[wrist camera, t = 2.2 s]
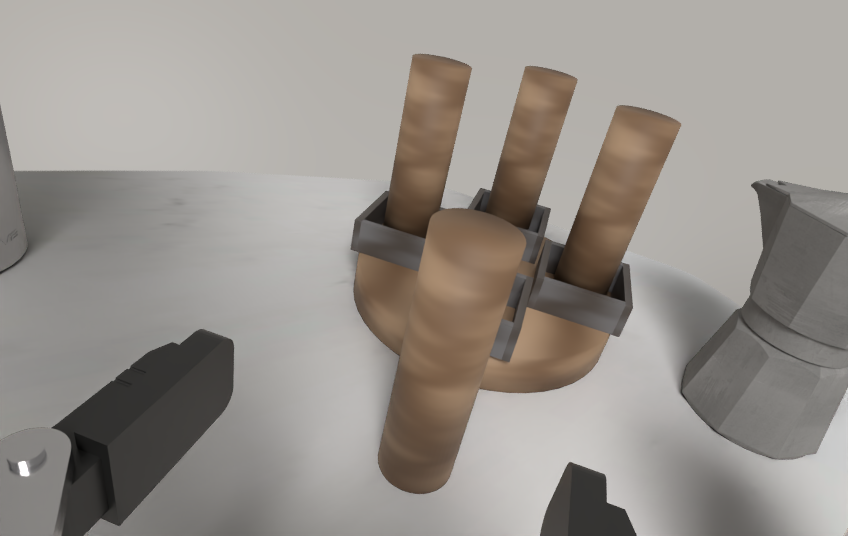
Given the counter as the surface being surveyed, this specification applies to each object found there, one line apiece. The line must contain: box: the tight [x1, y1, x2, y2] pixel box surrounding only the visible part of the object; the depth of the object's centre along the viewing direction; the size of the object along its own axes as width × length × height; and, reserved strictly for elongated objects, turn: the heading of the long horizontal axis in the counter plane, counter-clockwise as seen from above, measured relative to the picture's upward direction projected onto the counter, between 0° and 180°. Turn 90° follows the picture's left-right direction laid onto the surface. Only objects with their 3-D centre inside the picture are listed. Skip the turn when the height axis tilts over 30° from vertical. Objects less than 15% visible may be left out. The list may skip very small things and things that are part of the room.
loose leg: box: [378, 208, 526, 494], centre depth 25 cm, size 4×4×14 cm
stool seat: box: [351, 54, 681, 393], centre depth 39 cm, size 20×20×17 cm
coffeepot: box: [682, 180, 848, 460], centre depth 33 cm, size 15×9×18 cm, turn 38°
